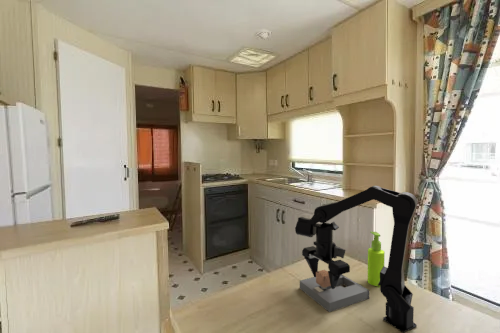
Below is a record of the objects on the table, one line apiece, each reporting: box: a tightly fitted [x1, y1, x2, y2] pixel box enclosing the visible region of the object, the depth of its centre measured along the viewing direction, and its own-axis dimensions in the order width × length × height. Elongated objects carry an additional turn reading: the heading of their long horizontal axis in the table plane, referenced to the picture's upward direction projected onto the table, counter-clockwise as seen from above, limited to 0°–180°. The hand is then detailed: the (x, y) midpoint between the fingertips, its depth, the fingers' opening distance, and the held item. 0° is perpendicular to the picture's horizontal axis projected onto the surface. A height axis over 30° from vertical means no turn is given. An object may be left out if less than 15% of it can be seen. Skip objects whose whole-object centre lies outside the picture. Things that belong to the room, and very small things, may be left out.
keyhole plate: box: [299, 274, 370, 313], centre depth 90 cm, size 18×16×3 cm
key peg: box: [316, 269, 331, 291], centre depth 88 cm, size 4×4×8 cm
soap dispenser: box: [367, 231, 386, 288], centre depth 97 cm, size 6×7×20 cm
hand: (323, 282), depth 88 cm, fingers open, 9 cm apart
